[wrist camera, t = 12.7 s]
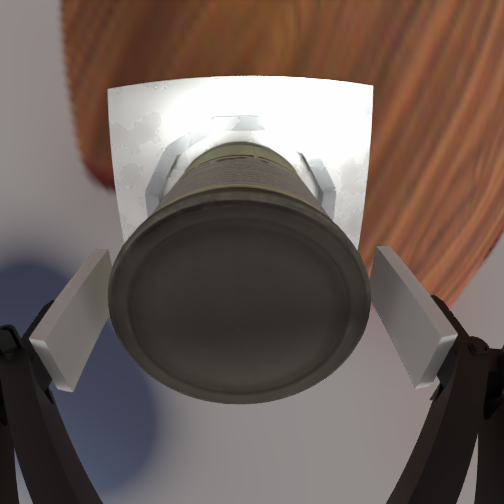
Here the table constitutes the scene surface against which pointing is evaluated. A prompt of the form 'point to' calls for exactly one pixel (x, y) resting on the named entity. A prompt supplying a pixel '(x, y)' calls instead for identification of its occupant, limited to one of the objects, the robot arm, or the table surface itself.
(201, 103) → the duct collar
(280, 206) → the coffee can
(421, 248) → the table surface
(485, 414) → the robot arm
